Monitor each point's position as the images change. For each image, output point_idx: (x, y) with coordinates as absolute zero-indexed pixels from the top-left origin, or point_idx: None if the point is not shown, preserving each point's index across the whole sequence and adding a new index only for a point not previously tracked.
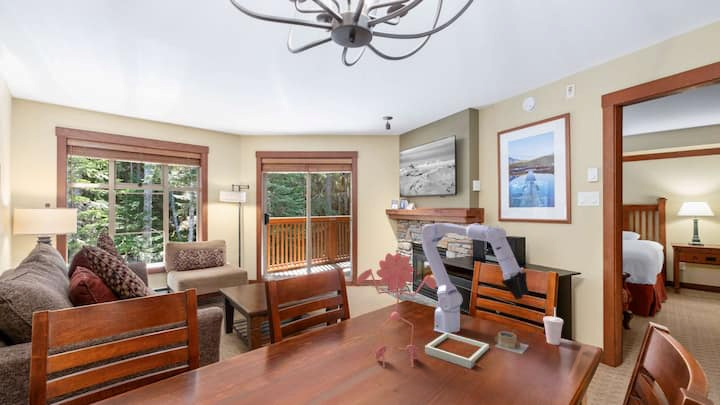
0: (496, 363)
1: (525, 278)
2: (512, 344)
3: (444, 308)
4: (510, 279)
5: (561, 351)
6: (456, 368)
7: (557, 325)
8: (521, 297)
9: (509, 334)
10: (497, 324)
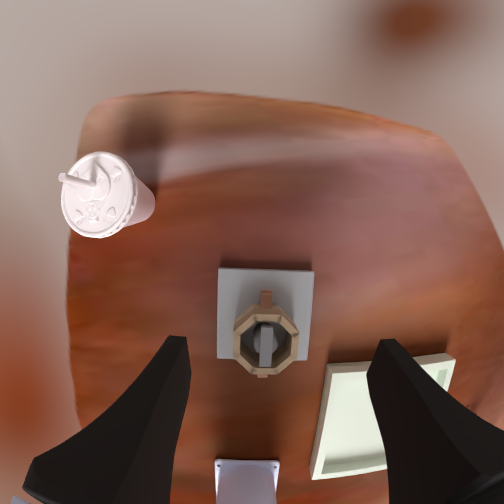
0: (391, 318)
1: (110, 447)
2: (283, 313)
3: None
4: (499, 484)
5: (171, 172)
6: (453, 374)
7: (130, 171)
8: (398, 344)
9: (272, 337)
10: (83, 390)
